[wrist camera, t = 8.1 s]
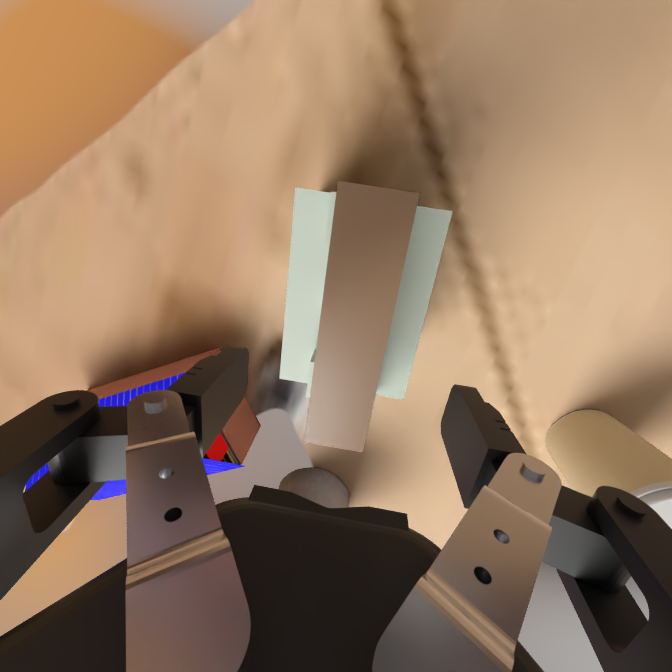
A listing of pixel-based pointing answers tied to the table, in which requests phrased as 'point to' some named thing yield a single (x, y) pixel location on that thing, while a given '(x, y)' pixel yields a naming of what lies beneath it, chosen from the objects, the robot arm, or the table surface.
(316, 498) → the pillar candle
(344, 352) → the long beige cuboid
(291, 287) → the stand
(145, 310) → the table surface
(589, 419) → the coffee cup
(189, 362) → the house
